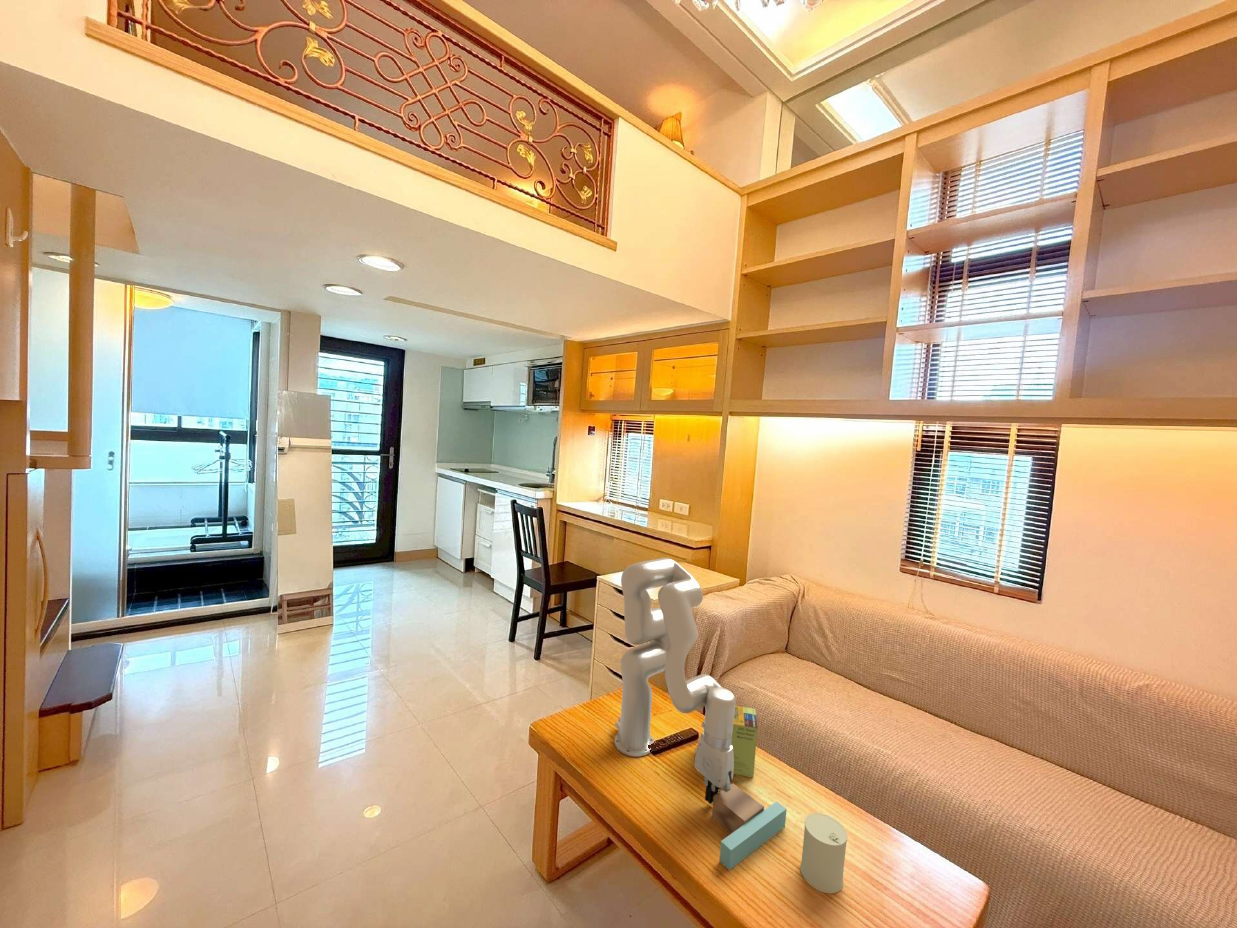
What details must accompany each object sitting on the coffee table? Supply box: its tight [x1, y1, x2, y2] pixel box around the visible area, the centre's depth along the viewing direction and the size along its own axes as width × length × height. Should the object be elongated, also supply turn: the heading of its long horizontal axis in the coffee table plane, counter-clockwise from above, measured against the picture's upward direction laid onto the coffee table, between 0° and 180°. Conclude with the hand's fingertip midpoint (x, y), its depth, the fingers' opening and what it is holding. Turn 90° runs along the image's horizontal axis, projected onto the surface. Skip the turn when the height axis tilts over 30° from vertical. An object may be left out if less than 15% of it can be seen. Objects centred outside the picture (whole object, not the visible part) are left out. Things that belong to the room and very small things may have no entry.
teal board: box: [719, 801, 787, 871], centre depth 122 cm, size 3×22×5 cm, turn 128°
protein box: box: [731, 705, 759, 778], centre depth 151 cm, size 10×15×16 cm
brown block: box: [711, 782, 765, 834], centre depth 128 cm, size 10×8×6 cm
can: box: [799, 812, 848, 894], centre depth 114 cm, size 9×9×12 cm
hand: (711, 799), depth 133 cm, fingers closed
